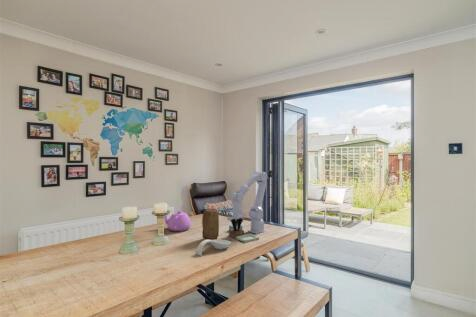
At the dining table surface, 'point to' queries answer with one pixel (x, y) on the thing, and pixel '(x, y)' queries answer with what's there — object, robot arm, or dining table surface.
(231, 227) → the teal block
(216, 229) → the block
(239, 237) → the tray
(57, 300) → the dining table surface
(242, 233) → the walnut bore block
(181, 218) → the teapot
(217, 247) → the spoon rest
